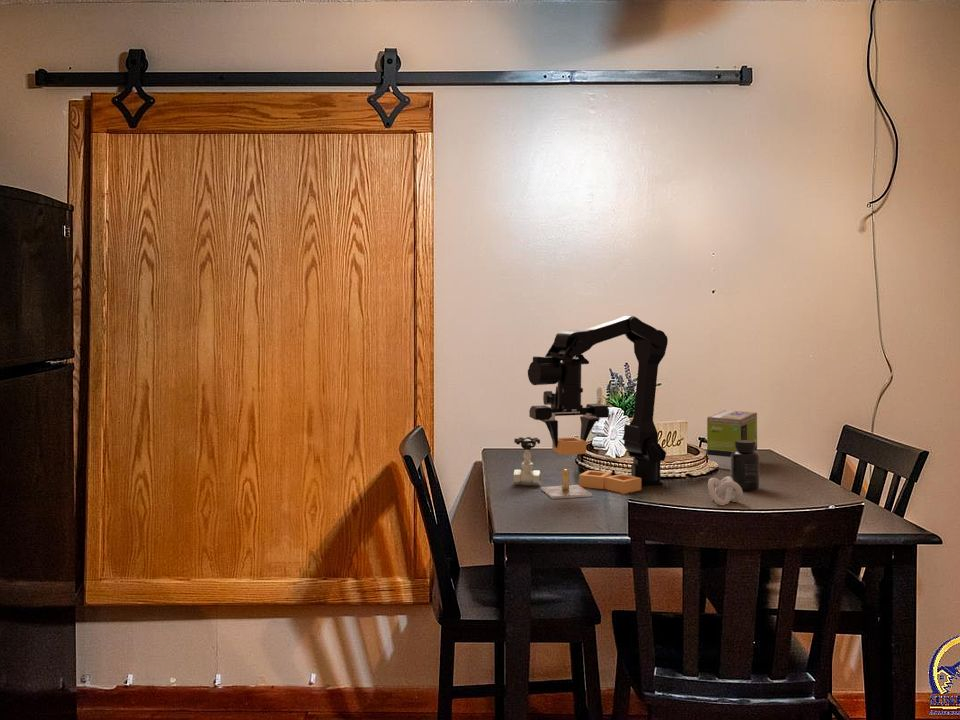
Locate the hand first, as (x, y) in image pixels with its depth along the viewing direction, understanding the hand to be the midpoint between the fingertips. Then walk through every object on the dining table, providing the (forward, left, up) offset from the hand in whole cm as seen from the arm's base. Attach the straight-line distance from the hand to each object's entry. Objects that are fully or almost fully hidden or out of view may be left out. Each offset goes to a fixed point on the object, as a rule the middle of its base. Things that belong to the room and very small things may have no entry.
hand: (568, 446), depth 196 cm
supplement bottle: (-45, +5, -12) cm, 46 cm away
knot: (-33, +16, -12) cm, 38 cm away
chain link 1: (-10, -7, -12) cm, 17 cm away
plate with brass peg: (0, -1, -12) cm, 12 cm away
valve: (+7, -11, -12) cm, 18 cm away
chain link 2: (-15, -1, -12) cm, 19 cm away
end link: (0, 0, -1) cm, 1 cm away
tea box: (-57, -22, -12) cm, 62 cm away
